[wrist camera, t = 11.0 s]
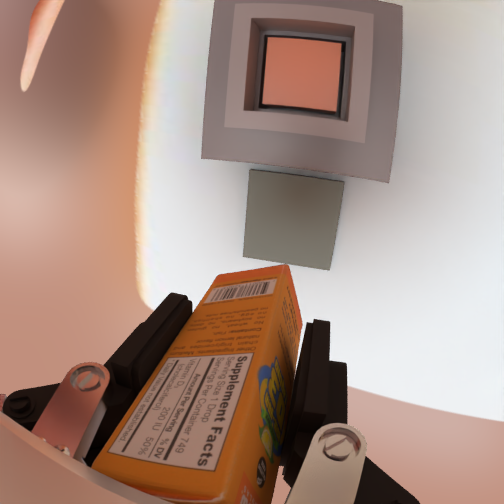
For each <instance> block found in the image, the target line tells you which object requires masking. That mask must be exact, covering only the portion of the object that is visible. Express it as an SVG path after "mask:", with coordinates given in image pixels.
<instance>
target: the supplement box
mask: <svg viewBox="0 0 504 504" xmlns="http://www.w3.org/2000/svg"><path fill="white" fill-rule="evenodd" d="M301 329H302V319H301V314H300V309H299V305H298V300H297V296H296V292H295V288H294V284H293V280H292V276H291V272H290V268H289V266H288V265H287V264H282V265H278V266H271V267H265V268H260V269H254V270H247V271H240V272H234V273H227V274H220V275H218V276H217V277H216V278H215V280H214V281H213V283H212V285H211V286H210V288H209V289H208V291H207V292H206V294H205V295H204V297H203V298H202V300H201V301H200V303H199V304H198V306H197V307H196V308H195V310H194V312H193V313H192V315H191V316H190V318H189V319H188V321H187V322H186V324H185V325H184V327H183V328H182V329H181V331H180V332H179V334H178V335H177V337H176V338H175V340H174V341H173V343H172V344H171V346H170V347H169V349H168V351H167V352H166V354H165V355H164V356H163V358H162V359H161V361H160V363H159V364H158V366H157V367H156V369H155V370H154V372H153V373H152V375H151V376H150V378H149V379H148V381H147V382H146V384H145V385H144V387H143V388H142V390H141V391H140V393H139V395H138V396H137V398H136V399H135V401H134V402H133V404H132V405H131V407H130V408H129V410H128V411H127V413H126V414H125V416H124V417H123V419H122V420H121V422H120V423H119V425H118V426H117V428H116V429H115V431H114V432H113V434H112V435H111V437H110V438H109V440H108V441H107V443H106V444H105V446H104V447H103V449H102V451H101V452H100V453H99V455H98V456H97V458H96V459H95V460H94V462H93V464H92V467H91V468H92V469H94V470H96V471H98V472H100V473H102V474H104V475H106V476H108V477H110V478H112V479H114V480H116V481H118V482H121V483H123V484H125V485H127V486H130V487H132V488H134V489H137V490H139V491H142V492H144V493H147V494H149V495H152V496H154V497H157V498H160V499H162V500H165V501H168V502H171V503H174V504H271V501H272V497H273V493H274V488H275V483H276V478H277V473H278V468H279V464H280V459H281V457H280V456H281V451H282V446H283V441H284V436H285V431H286V426H287V420H288V415H289V408H290V402H291V396H292V390H293V383H294V376H295V369H296V362H297V356H298V348H299V342H300V334H301Z"/></svg>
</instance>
